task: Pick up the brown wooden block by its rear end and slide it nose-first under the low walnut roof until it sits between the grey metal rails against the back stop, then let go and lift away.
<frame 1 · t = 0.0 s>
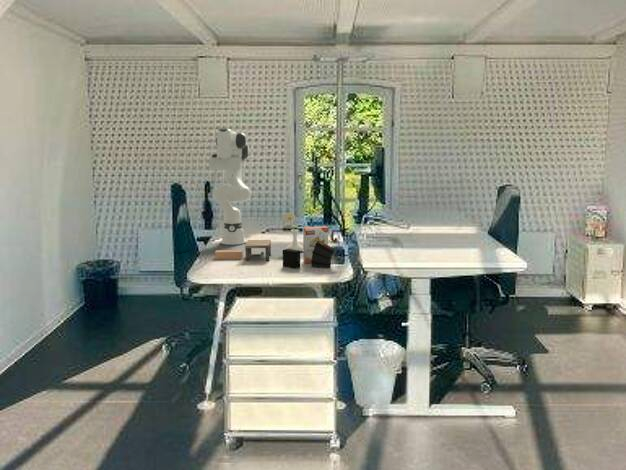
hand: (225, 176, 427), 48 cm above the table, tool pointing down, fingers open, 8 cm apart
brown wooden block: (229, 258, 417), on the table
cracker box: (315, 262, 404), on the table
electronic device: (291, 267, 392), on the table
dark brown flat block: (323, 267, 391), on the table
cubby: (258, 257, 417), on the table
flower in vase: (293, 251, 436), on the table
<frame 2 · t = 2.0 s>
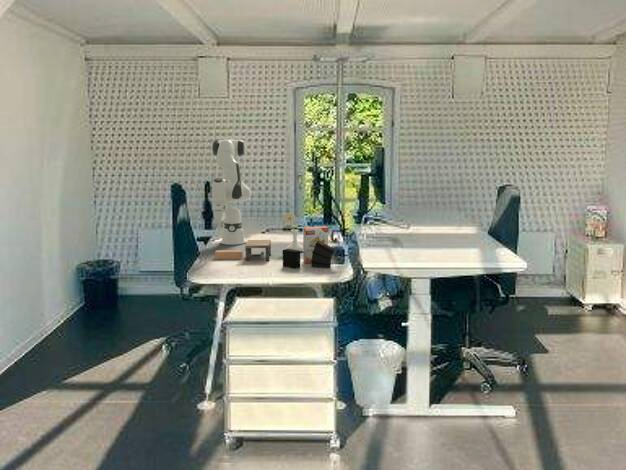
hand: (220, 228, 414), 19 cm above the table, tool pointing down, fingers open, 8 cm apart
nothing on the table moved.
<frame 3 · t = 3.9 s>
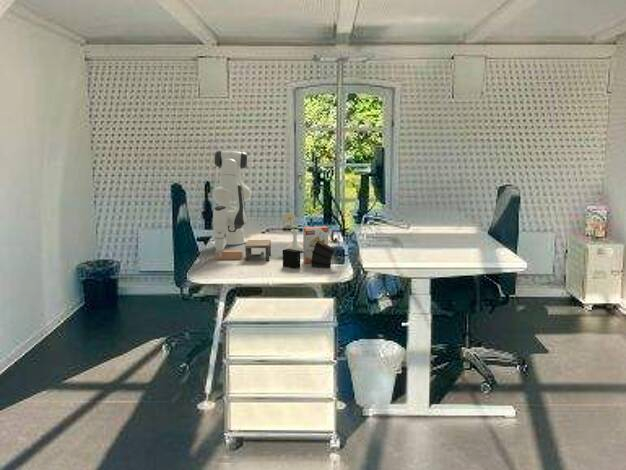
hand: (221, 255, 417), 2 cm above the table, tool pointing down, fingers closed on brown wooden block, 6 cm apart
brown wooden block: (229, 258, 417), on the table, touching gripper
everything else where it was.
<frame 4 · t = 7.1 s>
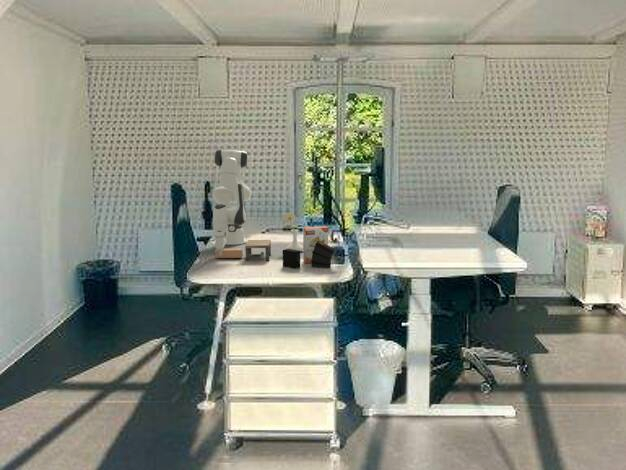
hand: (221, 253, 417), 3 cm above the table, tool pointing down, fingers closed on brown wooden block, 6 cm apart
brown wooden block: (229, 256, 417), point 1 cm above the table, touching gripper
everything else where it was.
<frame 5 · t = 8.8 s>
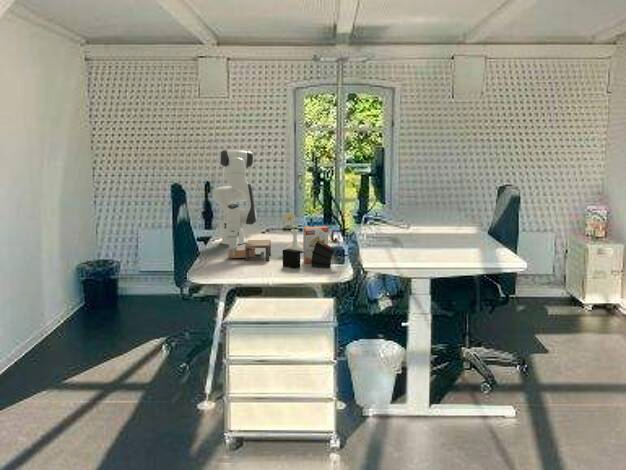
hand: (234, 253, 417), 3 cm above the table, tool pointing down, fingers closed on brown wooden block, 6 cm apart
brown wooden block: (241, 256, 417), point 1 cm above the table, touching gripper
everything else where it was.
when the fingers open (3 cm above the table, at t = 10.1 s): brown wooden block stays where it is, on the table.
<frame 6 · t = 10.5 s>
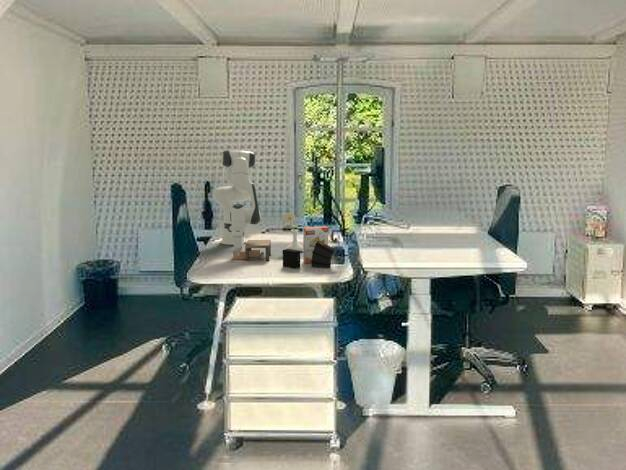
hand: (239, 253, 417), 3 cm above the table, tool pointing down, fingers open, 8 cm apart
brown wooden block: (246, 258, 417), on the table
everything else where it was.
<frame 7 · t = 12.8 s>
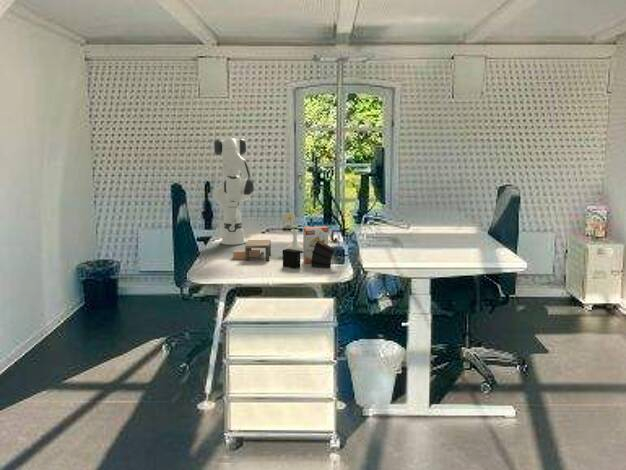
hand: (234, 224, 416), 21 cm above the table, tool pointing down, fingers open, 8 cm apart
nothing on the table moved.
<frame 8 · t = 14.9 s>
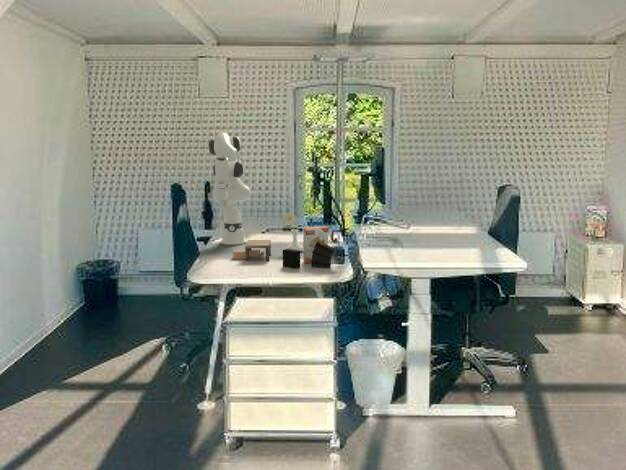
hand: (223, 206, 417), 31 cm above the table, tool pointing down, fingers open, 8 cm apart
nothing on the table moved.
at the end: brown wooden block 0.4 cm from the target spot, on the table; brown wooden block tilted 0°; the gripper is holding nothing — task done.
